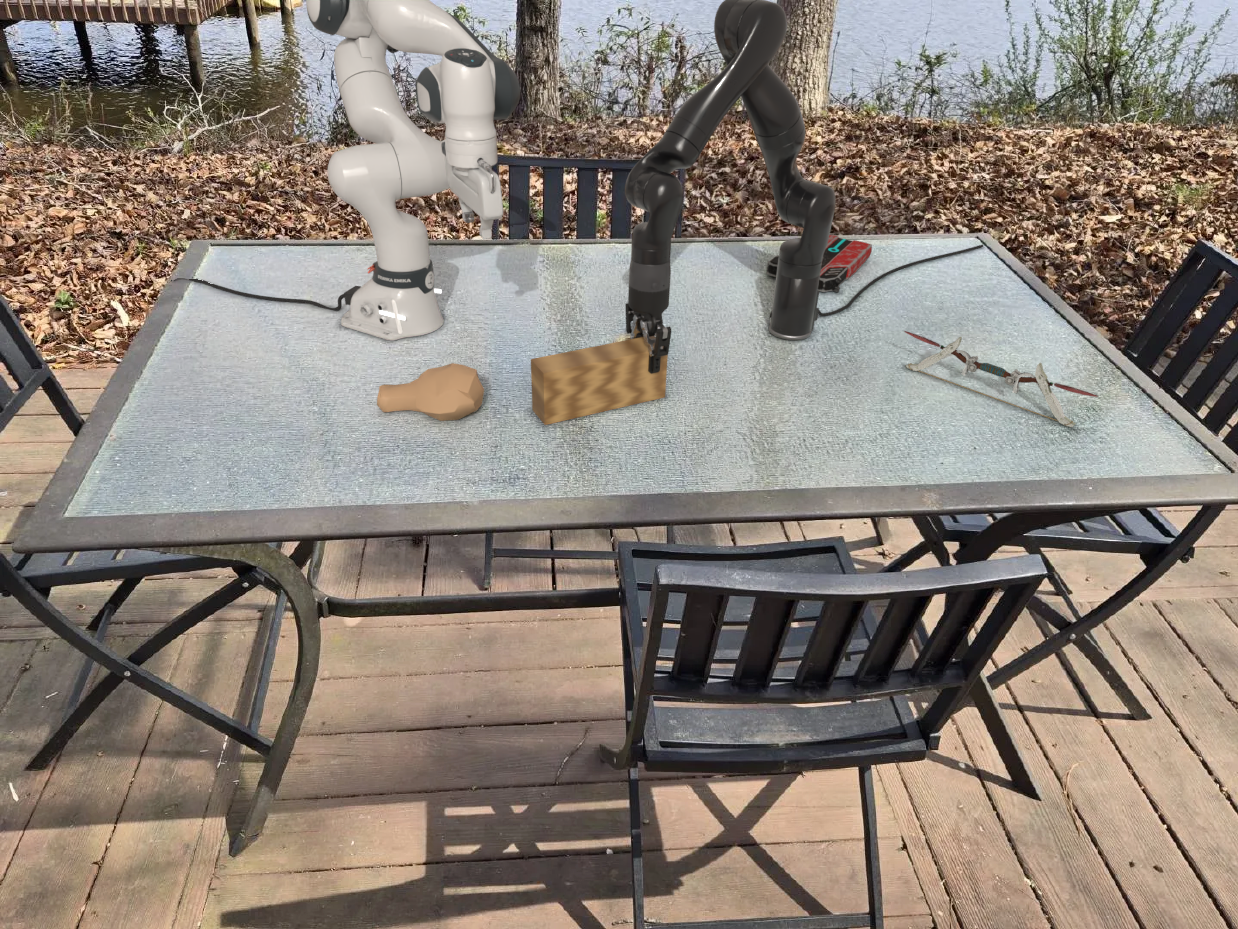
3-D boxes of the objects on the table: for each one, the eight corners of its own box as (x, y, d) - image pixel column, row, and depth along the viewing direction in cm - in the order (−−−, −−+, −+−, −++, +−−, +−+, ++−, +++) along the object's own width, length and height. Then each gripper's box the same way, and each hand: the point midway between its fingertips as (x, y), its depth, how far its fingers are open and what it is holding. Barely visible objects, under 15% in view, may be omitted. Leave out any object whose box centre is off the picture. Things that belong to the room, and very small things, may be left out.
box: (544, 425, 161) (543, 373, 155) (532, 410, 165) (530, 358, 159) (665, 397, 171) (668, 347, 165) (650, 383, 175) (652, 334, 169)
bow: (1087, 429, 164) (1105, 382, 158) (1083, 433, 163) (1101, 385, 157) (899, 362, 185) (909, 318, 180) (895, 365, 184) (904, 321, 179)
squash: (485, 427, 160) (474, 388, 154) (378, 435, 161) (363, 397, 155) (491, 389, 168) (481, 351, 162) (390, 398, 169) (376, 360, 163)
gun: (763, 262, 220) (837, 280, 212) (808, 226, 242) (876, 242, 234) (761, 279, 222) (834, 298, 214) (805, 242, 244) (873, 258, 236)
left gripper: (510, 165, 147) (513, 245, 155) (470, 137, 162) (475, 211, 170) (474, 169, 145) (479, 250, 152) (437, 140, 160) (443, 215, 168)
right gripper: (687, 293, 155) (681, 377, 164) (648, 265, 166) (645, 346, 175) (650, 299, 152) (646, 385, 161) (613, 271, 163) (611, 352, 172)
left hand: (477, 229), depth 161 cm, fingers open, 8 cm apart
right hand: (645, 364), depth 168 cm, fingers closed on box, 6 cm apart
